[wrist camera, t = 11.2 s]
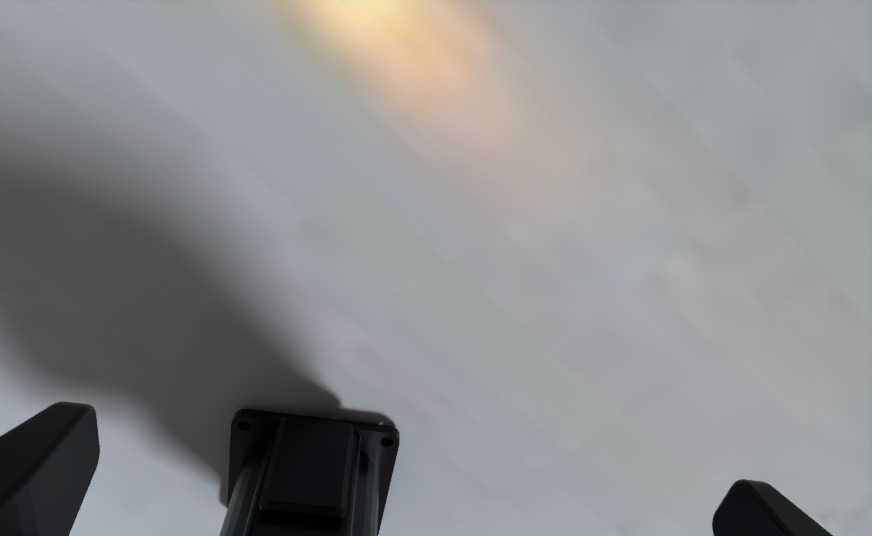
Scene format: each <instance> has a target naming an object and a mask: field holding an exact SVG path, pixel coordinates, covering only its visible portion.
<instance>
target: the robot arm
mask: <svg viewBox="0 0 872 536" xmlns="http://www.w3.org/2000/svg"><path fill="white" fill-rule="evenodd" d="M242 421H246V422H249V424H246V423H243V422H242ZM383 438H391V439H387V440H386V439H383ZM398 447H399V432H398V430H397V429H396V428H394V427H392V426H387V425H378V424H370V423H361V422H353V421H344V420H335V419H327V418H318V417H310V416H301V415H293V414H284V413H276V412H267V411H259V410H250V409H242V410H239V411H237V412H236V413H235V415H234V418H233V421H232V424H231V441H230V464H229V487H228V510H227V513H226V516H225V519H224V523H223V526H222V529H221V532H220V536H377V535H378V534H379V530H380V525H381V521H382V517H383V512H384V508H385V504H386V499H387V495H388V491H389V486H390V482H391V478H392V473H393V469H394V465H395V460H396V456H397V452H398ZM99 453H100V447H99V438H98V428H97V418H96V412H95V409H94V408H93V407H92V406H91V405H89V404H81V403H72V402H58V403H55V404H53V405H51V406H50V407H48V408H46V409H45V410H43V411H41V412H40V413H38V414H36V415H35V416H33V417H31V418H30V419H28V420H27V421H25V422H23V423H22V424H20V425H18V426H17V427H15V428H13V429H12V430H10V431H9V432H7V433H5V434H4V435H2V436H0V536H69V534H70V531H71V529H72V526H73V524H74V521H75V519H76V516H77V514H78V512H79V509H80V507H81V504H82V502H83V499H84V497H85V495H86V492H87V490H88V487H89V485H90V482H91V480H92V477H93V475H94V473H95V470H96V467H97V464H98V460H99ZM712 527H713V534H714V536H833V535H831V534H830V533H829V532H828V531H826V530H825V529H824V528H823V527H821V526H820V525H819V524H818V523H817V522H815V521H814V520H813V519H812V518H810V517H809V516H808V515H807V514H805V513H804V512H803V511H802V510H801V509H799V508H798V507H797V506H796V505H794V504H793V503H792V502H791V501H789V500H788V499H787V498H786V497H785V496H783V495H782V494H781V493H780V492H778V491H777V490H776V489H775V488H773V487H772V486H771V485H769V484H768V483H765V482H762V481H753V480H745V479H741V480H738V481H736V482H735V483H734V484H733V485H732V486H731V488H730V490H729V491H728V493H727V494H726V496H725V497H724V499H723V501H722V502H721V504H720V505H719V507H718V509H717V510H716V512H715V514H714V516H713V522H712Z"/></svg>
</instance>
